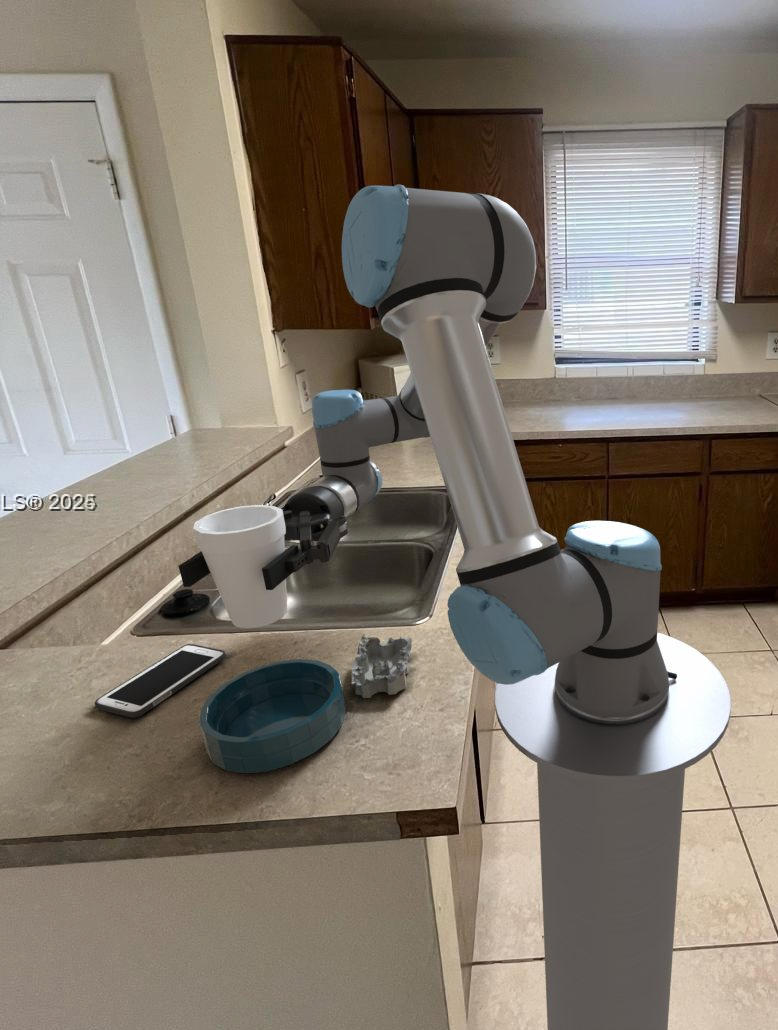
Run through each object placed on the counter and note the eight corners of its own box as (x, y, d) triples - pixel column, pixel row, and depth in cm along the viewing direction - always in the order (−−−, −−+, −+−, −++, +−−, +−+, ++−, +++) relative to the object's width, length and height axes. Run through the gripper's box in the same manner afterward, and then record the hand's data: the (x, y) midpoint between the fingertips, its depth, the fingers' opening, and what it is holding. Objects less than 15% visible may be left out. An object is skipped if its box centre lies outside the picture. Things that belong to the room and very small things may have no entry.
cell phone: (229, 656, 91) (228, 651, 91) (136, 720, 78) (134, 714, 77) (189, 648, 93) (188, 642, 93) (92, 708, 80) (90, 702, 80)
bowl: (368, 696, 82) (363, 665, 80) (299, 785, 68) (291, 749, 66) (264, 684, 85) (257, 654, 83) (176, 767, 70) (166, 732, 69)
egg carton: (364, 655, 91) (361, 632, 90) (416, 652, 92) (413, 628, 91) (348, 701, 81) (344, 675, 80) (406, 696, 82) (402, 670, 81)
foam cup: (205, 639, 71) (179, 537, 67) (230, 601, 80) (209, 508, 75) (292, 629, 73) (272, 529, 69) (307, 593, 82) (291, 502, 77)
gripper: (395, 534, 91) (322, 610, 70) (255, 530, 93) (144, 603, 72) (389, 486, 88) (312, 550, 67) (245, 483, 90) (127, 545, 69)
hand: (225, 577), depth 70 cm, fingers closed on foam cup, 9 cm apart
